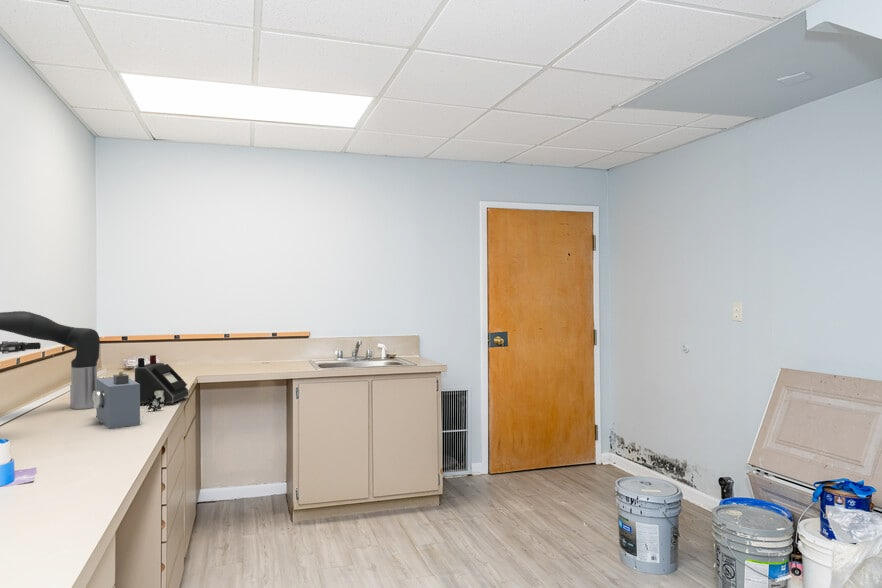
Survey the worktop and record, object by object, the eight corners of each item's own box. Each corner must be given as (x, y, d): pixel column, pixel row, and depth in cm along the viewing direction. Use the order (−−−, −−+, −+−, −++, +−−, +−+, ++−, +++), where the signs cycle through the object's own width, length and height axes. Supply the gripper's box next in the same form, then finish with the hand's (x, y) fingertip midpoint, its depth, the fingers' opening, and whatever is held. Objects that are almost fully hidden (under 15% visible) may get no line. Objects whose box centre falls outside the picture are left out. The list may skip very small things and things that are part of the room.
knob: (92, 407, 217) (92, 389, 217) (120, 403, 223) (120, 387, 223) (95, 409, 212) (95, 392, 212) (124, 406, 218) (124, 389, 218)
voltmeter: (173, 405, 249) (173, 358, 248) (134, 405, 248) (134, 359, 248) (189, 398, 265) (188, 354, 264) (152, 398, 264) (152, 354, 264)
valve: (151, 406, 248) (145, 412, 236) (151, 390, 248) (145, 395, 236) (168, 405, 249) (163, 411, 238) (168, 390, 249) (163, 395, 238)
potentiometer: (113, 382, 216) (113, 369, 216) (125, 381, 218) (125, 368, 218) (116, 384, 212) (116, 370, 212) (128, 383, 214) (128, 369, 214)
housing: (96, 417, 226) (96, 378, 226) (125, 413, 232) (125, 376, 232) (109, 428, 207) (109, 386, 207) (140, 424, 214) (139, 383, 214)
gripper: (-23, 339, 188) (42, 336, 199) (-24, 336, 198) (38, 333, 209) (-23, 362, 188) (42, 358, 199) (-24, 358, 198) (38, 354, 209)
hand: (40, 345), depth 204 cm, fingers closed
